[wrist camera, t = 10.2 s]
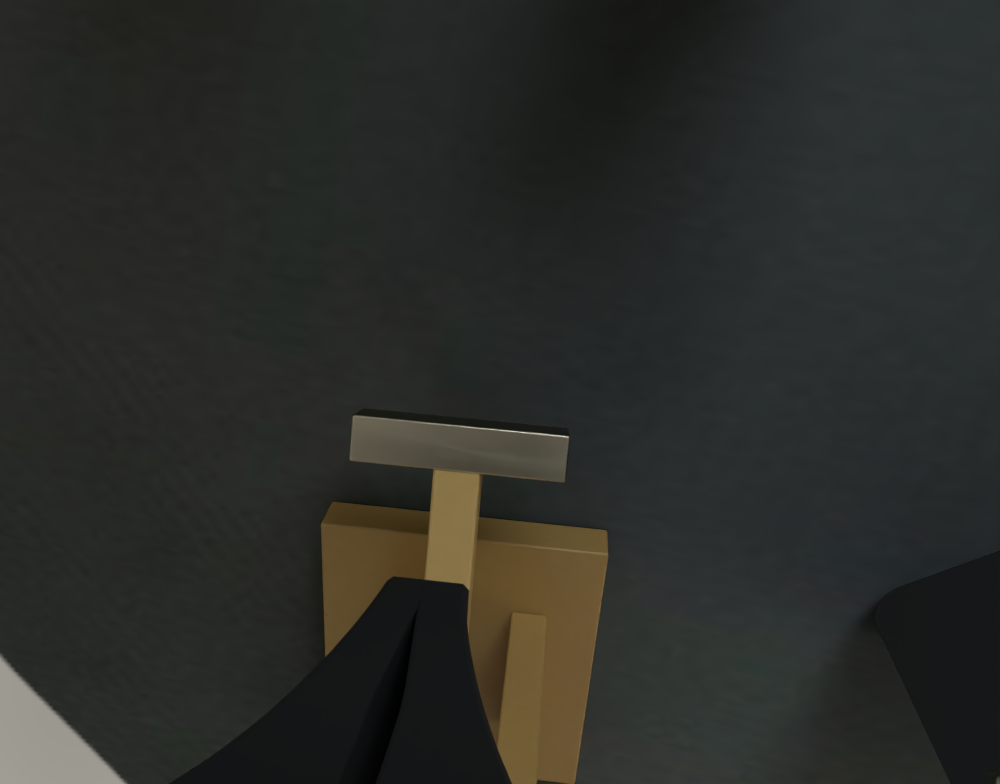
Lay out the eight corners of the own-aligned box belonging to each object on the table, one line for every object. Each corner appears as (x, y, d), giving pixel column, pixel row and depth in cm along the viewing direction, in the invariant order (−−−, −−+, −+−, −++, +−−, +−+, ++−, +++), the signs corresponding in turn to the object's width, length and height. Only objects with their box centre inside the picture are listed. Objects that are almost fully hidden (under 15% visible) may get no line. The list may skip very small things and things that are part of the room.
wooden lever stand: (331, 500, 24) (230, 704, 17) (607, 529, 24) (618, 750, 17) (337, 726, 28) (256, 968, 21) (575, 754, 28) (573, 1010, 21)
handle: (368, 404, 21) (344, 417, 19) (568, 424, 21) (571, 440, 18) (338, 814, 22) (312, 876, 20) (527, 837, 22) (524, 902, 20)
